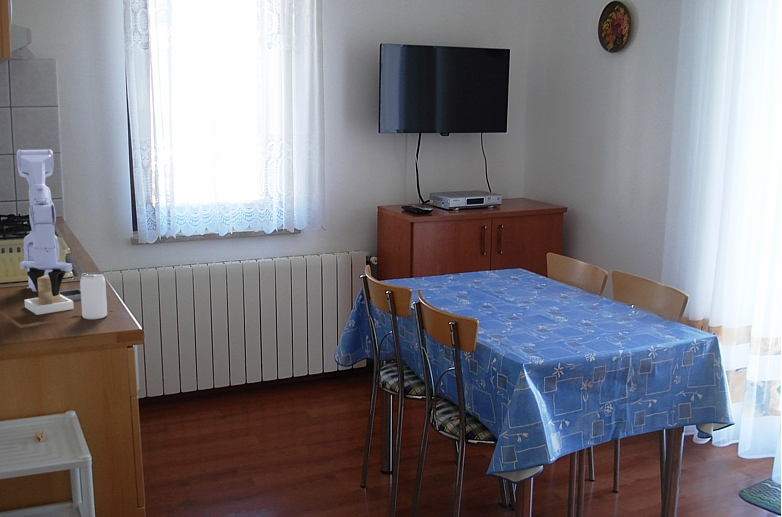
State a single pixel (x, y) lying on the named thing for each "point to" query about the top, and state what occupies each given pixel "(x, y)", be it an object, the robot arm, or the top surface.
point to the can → (93, 296)
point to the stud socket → (72, 294)
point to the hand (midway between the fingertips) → (48, 294)
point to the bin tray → (48, 305)
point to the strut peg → (46, 291)
